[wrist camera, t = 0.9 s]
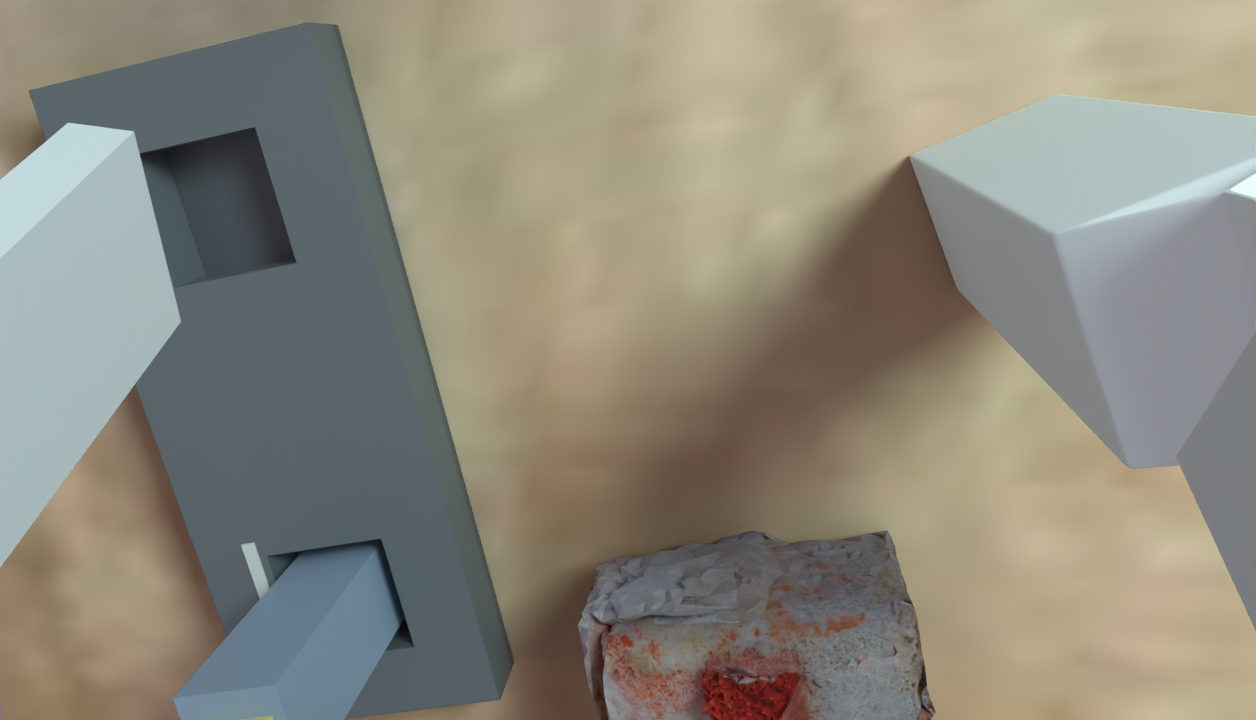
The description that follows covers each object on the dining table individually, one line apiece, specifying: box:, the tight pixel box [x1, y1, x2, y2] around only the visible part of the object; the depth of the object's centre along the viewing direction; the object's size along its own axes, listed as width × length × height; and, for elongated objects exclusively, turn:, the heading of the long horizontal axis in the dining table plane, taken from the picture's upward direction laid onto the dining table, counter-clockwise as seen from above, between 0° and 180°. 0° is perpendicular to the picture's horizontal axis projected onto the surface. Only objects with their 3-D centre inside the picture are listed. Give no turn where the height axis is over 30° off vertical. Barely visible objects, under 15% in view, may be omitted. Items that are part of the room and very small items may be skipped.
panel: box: [29, 23, 514, 719], centre depth 44 cm, size 30×12×3 cm, turn 12°
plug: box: [173, 539, 405, 720], centre depth 41 cm, size 4×4×13 cm
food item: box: [578, 531, 935, 720], centre depth 41 cm, size 14×8×10 cm, turn 102°
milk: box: [909, 94, 1256, 469], centre depth 29 cm, size 6×6×22 cm
